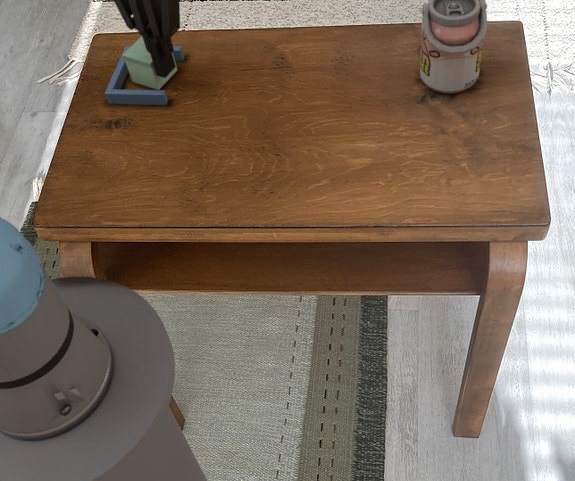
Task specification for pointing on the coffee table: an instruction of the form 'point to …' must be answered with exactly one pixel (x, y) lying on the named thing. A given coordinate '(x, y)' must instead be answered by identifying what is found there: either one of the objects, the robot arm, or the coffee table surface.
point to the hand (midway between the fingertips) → (166, 71)
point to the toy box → (144, 66)
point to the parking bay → (135, 96)
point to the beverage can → (452, 43)
